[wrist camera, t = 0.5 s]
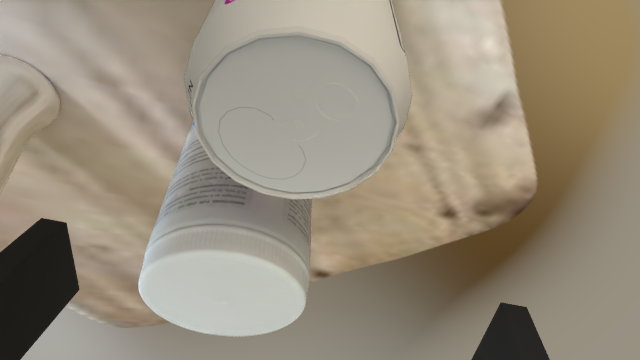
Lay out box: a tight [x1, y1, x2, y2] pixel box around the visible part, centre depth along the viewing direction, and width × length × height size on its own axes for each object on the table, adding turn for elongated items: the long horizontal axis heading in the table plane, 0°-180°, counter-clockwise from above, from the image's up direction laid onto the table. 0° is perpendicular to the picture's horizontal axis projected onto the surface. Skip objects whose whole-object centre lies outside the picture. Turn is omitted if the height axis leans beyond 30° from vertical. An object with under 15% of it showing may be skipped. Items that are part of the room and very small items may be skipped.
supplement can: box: [184, 0, 412, 200], centre depth 20 cm, size 8×8×15 cm
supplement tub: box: [138, 121, 312, 336], centre depth 28 cm, size 10×10×15 cm
